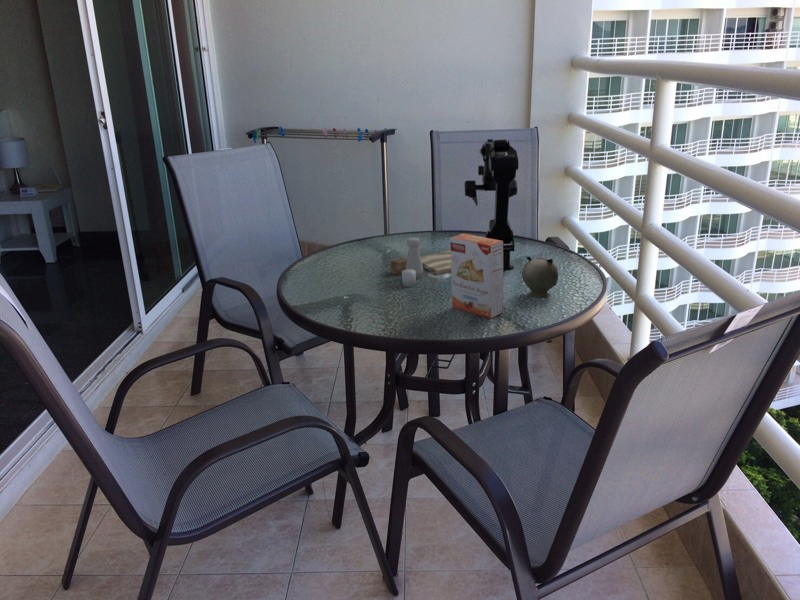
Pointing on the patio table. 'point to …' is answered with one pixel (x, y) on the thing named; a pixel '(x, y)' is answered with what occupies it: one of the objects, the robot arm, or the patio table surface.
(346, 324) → the patio table surface
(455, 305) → the cracker box
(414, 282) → the white rounded cube
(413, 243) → the salt shaker
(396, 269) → the walnut block
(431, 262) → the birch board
